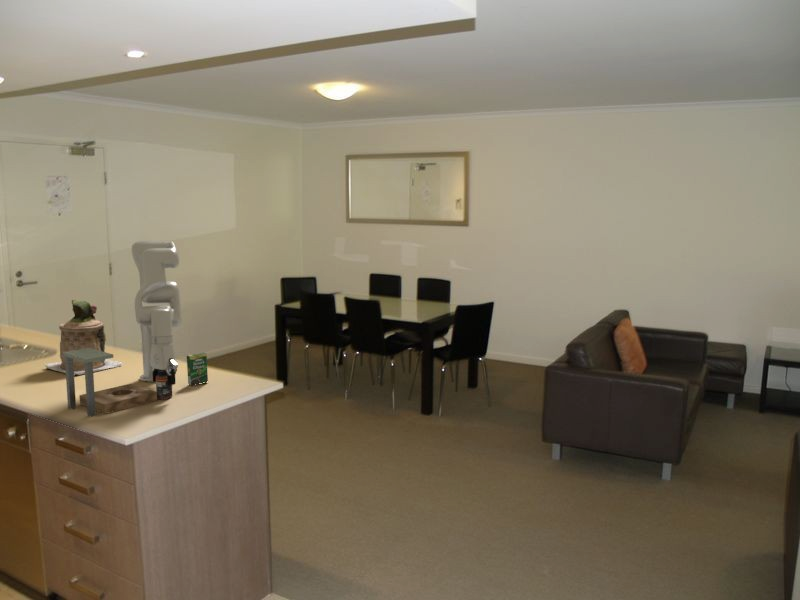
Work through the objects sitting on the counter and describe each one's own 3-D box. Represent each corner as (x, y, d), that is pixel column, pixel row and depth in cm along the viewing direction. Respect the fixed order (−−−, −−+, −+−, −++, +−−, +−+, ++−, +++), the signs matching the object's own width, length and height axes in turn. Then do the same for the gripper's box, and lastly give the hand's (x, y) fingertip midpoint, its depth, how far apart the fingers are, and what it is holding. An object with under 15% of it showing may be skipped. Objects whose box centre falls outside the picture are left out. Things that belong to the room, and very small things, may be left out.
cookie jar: (74, 377, 282) (70, 305, 278) (42, 369, 295) (38, 300, 290) (124, 366, 303) (121, 298, 298) (92, 359, 316) (89, 294, 311)
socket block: (131, 391, 261) (130, 383, 261) (156, 400, 251) (156, 391, 250) (79, 404, 245) (79, 395, 244) (105, 413, 234) (104, 404, 234)
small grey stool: (92, 401, 248) (89, 347, 245) (116, 410, 238) (113, 354, 235) (65, 407, 240) (62, 352, 237) (89, 417, 230) (86, 359, 227)
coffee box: (190, 386, 270) (189, 356, 268) (187, 385, 272) (186, 354, 270) (208, 383, 276) (207, 353, 274) (205, 381, 278) (204, 352, 276)
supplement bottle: (167, 394, 259) (166, 367, 257) (175, 397, 255) (174, 369, 253) (153, 397, 254) (152, 369, 253) (161, 400, 250) (160, 372, 249)
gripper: (140, 339, 253) (142, 381, 255) (166, 343, 243) (168, 388, 245) (158, 336, 259) (159, 377, 261) (184, 341, 249) (185, 384, 251)
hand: (164, 382), depth 253 cm, fingers open, 9 cm apart
